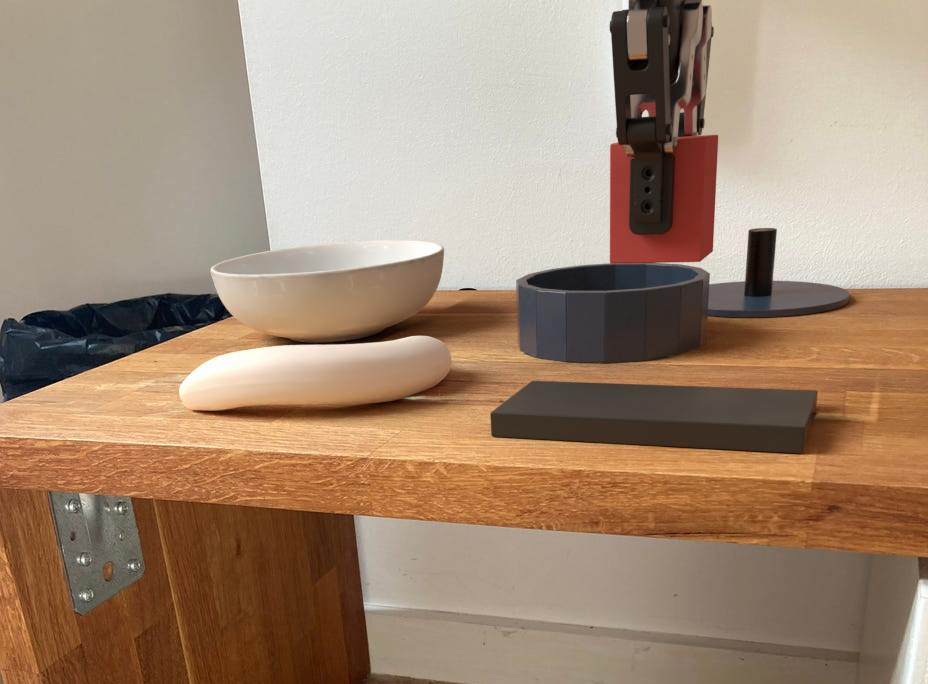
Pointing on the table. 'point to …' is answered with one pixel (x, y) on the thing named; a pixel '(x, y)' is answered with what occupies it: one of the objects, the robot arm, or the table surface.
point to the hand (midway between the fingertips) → (659, 226)
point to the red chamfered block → (690, 206)
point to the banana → (318, 374)
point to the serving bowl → (330, 288)
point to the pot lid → (770, 287)
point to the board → (659, 415)
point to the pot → (612, 312)
